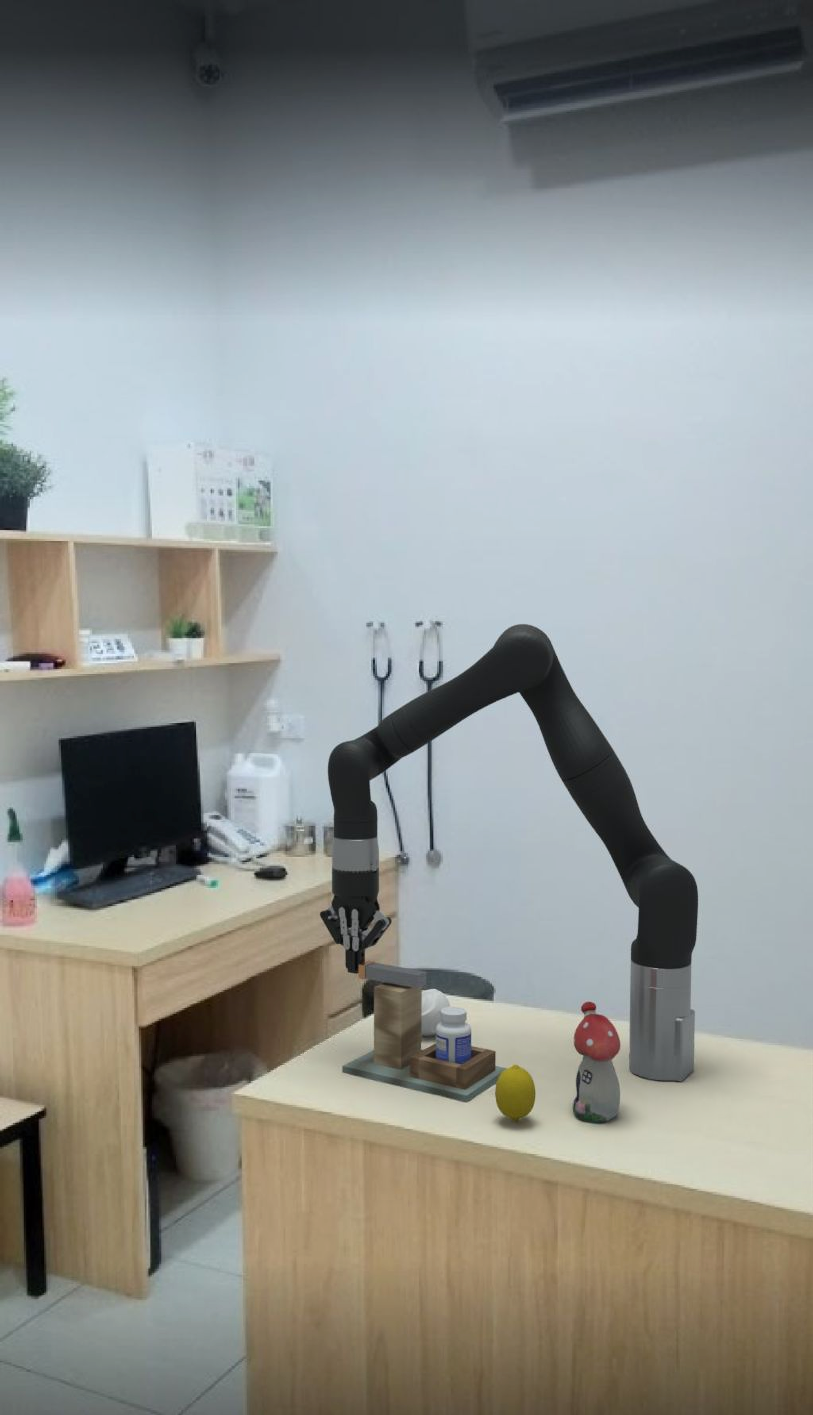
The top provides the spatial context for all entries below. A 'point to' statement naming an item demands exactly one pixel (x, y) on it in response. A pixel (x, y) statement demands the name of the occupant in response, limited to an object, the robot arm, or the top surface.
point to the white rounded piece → (432, 1010)
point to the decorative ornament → (596, 1067)
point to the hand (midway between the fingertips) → (355, 972)
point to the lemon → (515, 1093)
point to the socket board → (418, 1051)
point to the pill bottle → (453, 1036)
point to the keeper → (392, 974)
